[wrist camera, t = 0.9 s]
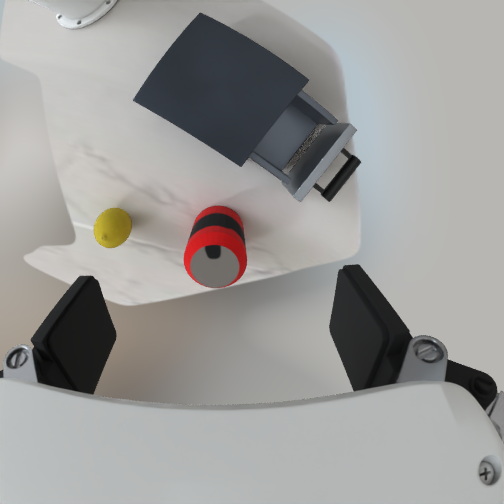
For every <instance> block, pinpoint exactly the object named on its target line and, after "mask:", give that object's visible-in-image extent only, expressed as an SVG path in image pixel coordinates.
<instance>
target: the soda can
mask: <svg viewBox="0 0 504 504" xmlns="http://www.w3.org/2000/svg"><path fill="white" fill-rule="evenodd" d="M184 265H185V269H186V271H187V273H188V274H189V276H190V277H191V278H192V279H193V280H194V281H196V282H197V283H199V284H201V285H203V286H206V287H210V288H222V287H226V286H229V285H231V284H233V283H235V282H236V281H237V280H239V279H240V278H241V276H242V275H243V273H244V272H245V269H246V266H247V255H246V247H245V238H244V230H243V223H242V221H241V219H240V217H239V216H238V214H237V213H236V212H235V211H233V210H232V209H230V208H227V207H224V206H213V207H209V208H207V209H205V210H203V211H202V212H201V213H200V214H199V215H198V217H197V218H196V220H195V223H194V226H193V229H192V232H191V235H190V238H189V241H188V244H187V247H186V250H185V253H184Z"/></svg>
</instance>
